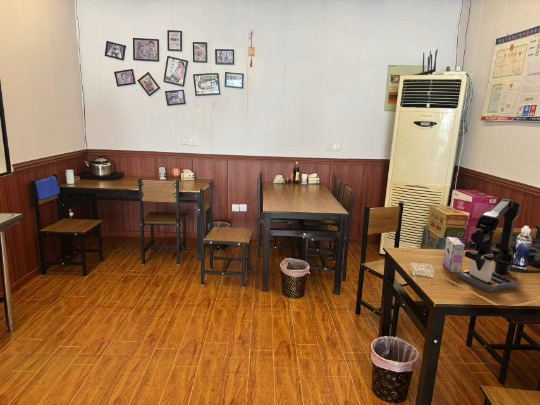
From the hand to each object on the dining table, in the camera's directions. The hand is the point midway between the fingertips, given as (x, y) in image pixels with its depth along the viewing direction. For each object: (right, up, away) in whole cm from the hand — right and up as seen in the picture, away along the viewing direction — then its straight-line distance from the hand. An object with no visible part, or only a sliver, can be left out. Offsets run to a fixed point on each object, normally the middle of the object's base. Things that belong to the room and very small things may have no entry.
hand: (480, 270), depth 178 cm
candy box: (-3, -4, +23) cm, 23 cm away
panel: (0, -4, +1) cm, 4 cm away
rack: (+5, -8, +4) cm, 10 cm away
